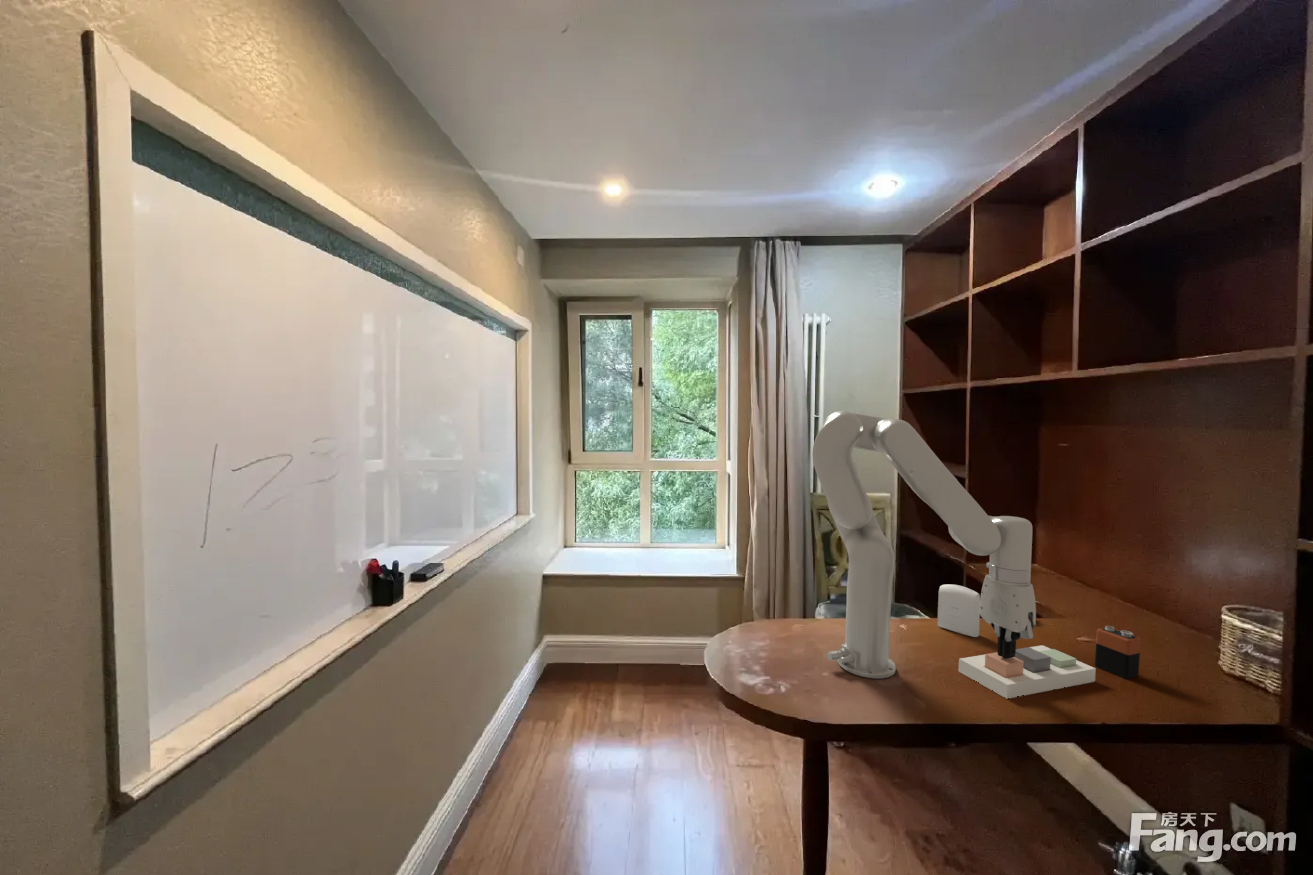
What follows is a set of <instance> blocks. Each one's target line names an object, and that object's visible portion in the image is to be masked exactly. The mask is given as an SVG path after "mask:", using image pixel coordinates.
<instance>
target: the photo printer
mask: <svg viewBox="0 0 1313 875" xmlns="http://www.w3.org/2000/svg"><path fill="white" fill-rule="evenodd" d="M980 598H981V594H980V593H978V592H977V591H975V590H973V589H971V588H968V587H966V586H964V585H963V586H962V585H958V584H942V585H940V586H939V589H938V602H937V605H938V606H937V626H938V628H941V629H946V630H949V631H952V632H954V633H958V634H962V635H965V636H968V637H972V638H977V637H979V636H980V618H981V615H980Z"/></svg>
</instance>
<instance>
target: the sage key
mask: <svg viewBox="0 0 1313 875" xmlns="http://www.w3.org/2000/svg"><path fill="white" fill-rule="evenodd" d="M1038 652H1041V653H1043V654H1045V655H1047V656H1050V657H1051V661H1050V664H1052V665H1054V666H1056V667H1058V668H1065V667H1071V666H1076V660H1077V658H1076V657H1073V656H1071V655H1069V654H1067V653H1064V652H1062V651H1060V650H1058V649H1055V648H1050V650H1044V651H1038Z"/></svg>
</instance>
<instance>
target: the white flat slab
mask: <svg viewBox="0 0 1313 875" xmlns="http://www.w3.org/2000/svg"><path fill="white" fill-rule="evenodd" d="M1029 647H1030V648H1032V649H1034V650H1036V651H1044V650H1050V649H1051V648H1050V647H1048V646H1046V645H1036V646H1029ZM1096 669H1097V668H1096V667H1093V666H1092V665H1091V666H1090V665H1088V664H1087V663H1084V662H1082V661H1079V660H1077V659H1076V666H1071V667H1065V668H1058V667H1056V666H1054V665H1052V664H1050V670H1049V671H1043V672H1038V673H1032V672H1030V671H1028V670H1026V669H1024V668H1023V675H1021V676H1016V677H1010V678H1004V677H1002V676H1001V675H999V674H997V673H995V672H993V671H991V670H989V669H987V668H985V654H979V655H974V656H968V657H967V656H966V657H959V659H958V672H959V673H961V674H962V675H964V676H965V677H968V678H970V679H971V680H973V681H974V680H975V681H974V682H976V681H977V682H976V683H978V682H979V683H978V684H979V685H981V686H982V687H983V686H984V687H986V688H987V689H989V690H990V691H992V690H993V691H992V692H995V693H996V694H997V695H999V696H1001V697H1003V698H1004V697H1005V698H1004V699H1008V698H1009V699H1014V698H1018V697H1017V696H1019V697H1023V696H1022V695H1024V696H1028V695H1033V694H1037V693H1045V692H1049V691H1053V690H1054V689H1055V690H1059V689H1064V687H1065V688H1069V687H1073V686H1074V687H1075V686H1080V685H1084V684H1090V683H1094V682H1096V671H1097V670H1096Z"/></svg>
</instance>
